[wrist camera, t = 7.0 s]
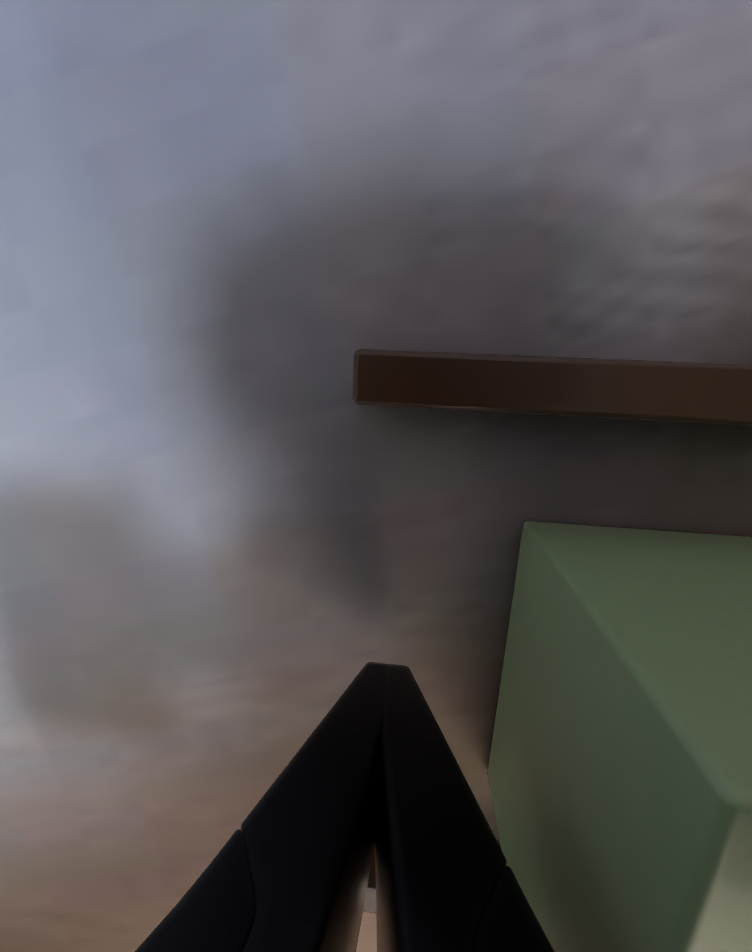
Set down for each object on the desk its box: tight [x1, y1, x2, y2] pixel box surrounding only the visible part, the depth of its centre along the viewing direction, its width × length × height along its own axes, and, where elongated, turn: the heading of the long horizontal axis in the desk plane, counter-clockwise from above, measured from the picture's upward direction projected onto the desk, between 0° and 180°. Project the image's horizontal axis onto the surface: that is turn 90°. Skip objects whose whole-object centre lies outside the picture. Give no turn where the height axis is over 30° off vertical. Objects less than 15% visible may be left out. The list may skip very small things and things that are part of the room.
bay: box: [353, 349, 752, 913], centre depth 7 cm, size 12×14×1 cm
